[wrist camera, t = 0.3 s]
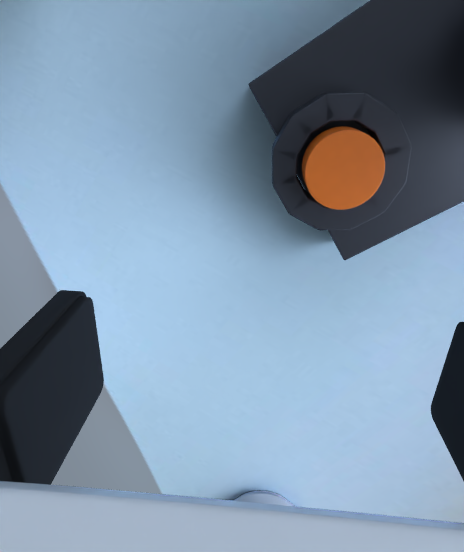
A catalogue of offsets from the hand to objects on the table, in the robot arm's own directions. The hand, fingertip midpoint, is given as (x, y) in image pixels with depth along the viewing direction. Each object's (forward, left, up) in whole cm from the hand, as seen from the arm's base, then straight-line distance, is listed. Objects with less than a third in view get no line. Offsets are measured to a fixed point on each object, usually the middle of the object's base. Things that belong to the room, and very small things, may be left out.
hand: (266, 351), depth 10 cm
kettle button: (-1, +4, -12) cm, 13 cm away
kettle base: (0, +10, -16) cm, 19 cm away
